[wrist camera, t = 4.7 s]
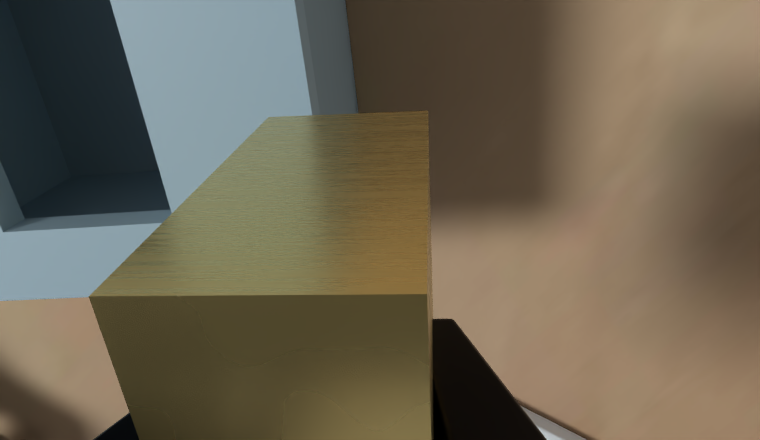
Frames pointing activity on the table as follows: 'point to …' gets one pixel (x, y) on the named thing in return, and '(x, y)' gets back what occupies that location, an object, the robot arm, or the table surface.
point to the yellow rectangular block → (286, 291)
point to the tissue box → (140, 117)
